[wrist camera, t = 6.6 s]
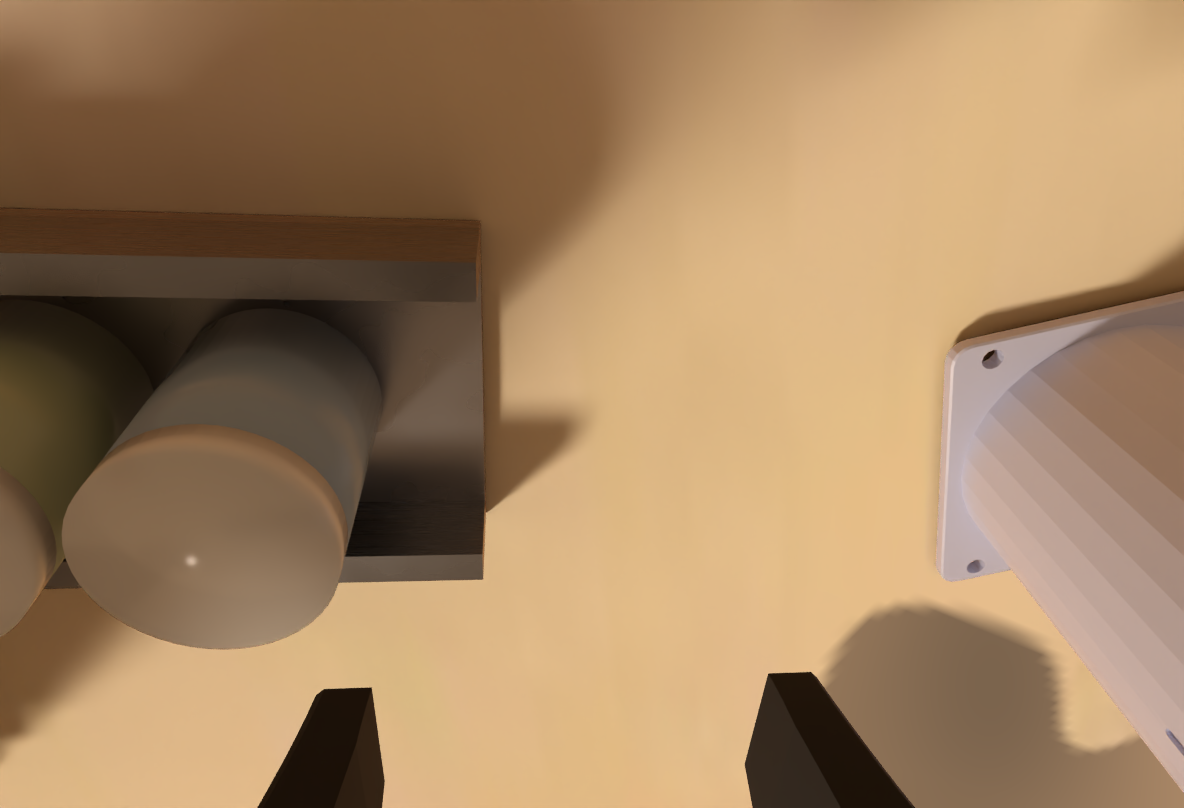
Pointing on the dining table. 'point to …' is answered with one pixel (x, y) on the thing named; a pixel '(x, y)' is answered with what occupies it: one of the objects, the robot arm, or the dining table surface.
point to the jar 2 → (232, 486)
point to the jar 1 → (53, 433)
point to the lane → (321, 290)
